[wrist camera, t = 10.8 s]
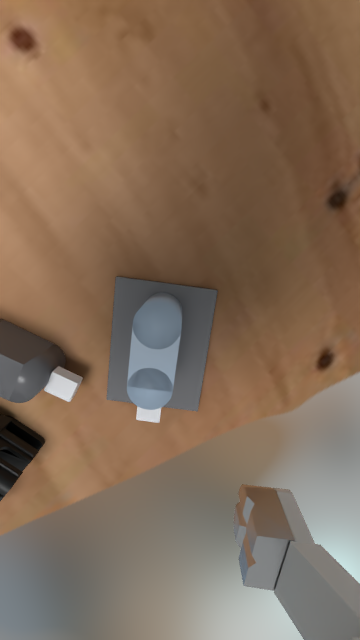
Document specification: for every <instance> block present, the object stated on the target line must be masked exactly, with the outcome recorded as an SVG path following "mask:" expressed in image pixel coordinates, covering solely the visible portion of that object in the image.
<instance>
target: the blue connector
mask: <svg viewBox="0 0 360 640" xmlns="http://www.w3.org/2000/svg"><path fill="white" fill-rule="evenodd" d="M181 328H182V307H181V304H180V302H179V301H178V299H177V298H176V297H174V296H173V295H171V294H168V293H157V294H154V295H152V296H151V297H150V298H149V299H148V300H147V301H146V302H145V303H144V304H143V305H142V307H141V308H140V309H139V310H138V311H137V313H136V314H135V316H134V319H133V327H132V337H131V348H130V359H129V369H128V380H127V393H128V396H129V398H130V400H131V401H132V402H133V403H134V404H135V405H137V406H138V408H137V417H136V420H141V421H149V422H157V423H159V420H160V414H161V407H163V406H164V405H166V404H167V403H168V402H169V400H170V399H171V396H172V393H173V386H174V379H175V372H176V364H177V357H178V350H179V343H180V336H181Z"/></svg>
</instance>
